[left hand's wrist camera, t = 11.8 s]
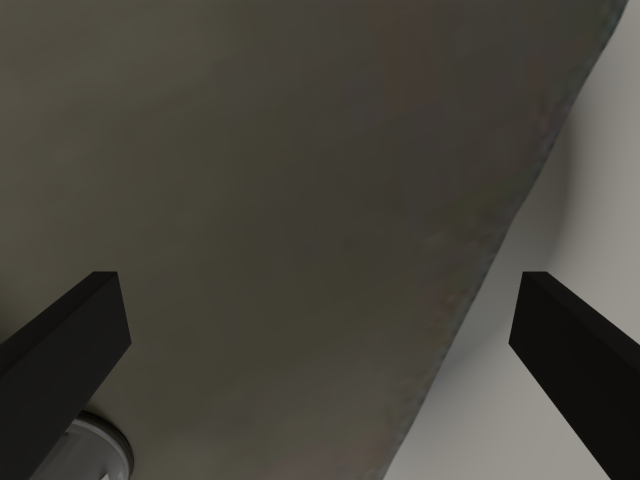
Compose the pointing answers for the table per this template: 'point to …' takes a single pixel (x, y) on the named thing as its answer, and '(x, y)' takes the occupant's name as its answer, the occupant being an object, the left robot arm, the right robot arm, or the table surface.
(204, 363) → the table surface
